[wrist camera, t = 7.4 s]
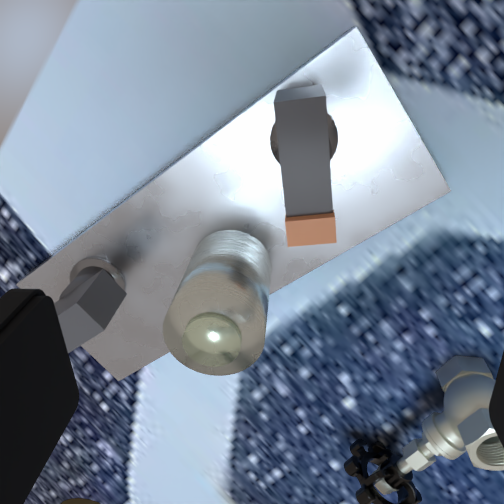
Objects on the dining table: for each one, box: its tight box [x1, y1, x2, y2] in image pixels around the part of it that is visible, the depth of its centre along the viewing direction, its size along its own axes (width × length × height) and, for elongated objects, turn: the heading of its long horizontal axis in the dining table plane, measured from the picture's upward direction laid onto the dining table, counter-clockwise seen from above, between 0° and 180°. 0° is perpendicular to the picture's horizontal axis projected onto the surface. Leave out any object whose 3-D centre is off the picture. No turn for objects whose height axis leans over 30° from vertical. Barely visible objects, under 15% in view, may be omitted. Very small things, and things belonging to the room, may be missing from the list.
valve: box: [344, 356, 504, 504], centre depth 31 cm, size 7×7×12 cm
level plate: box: [16, 27, 451, 381], centre depth 25 cm, size 26×10×9 cm, turn 126°
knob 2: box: [273, 84, 337, 247], centre depth 21 cm, size 6×3×6 cm, turn 8°
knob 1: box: [54, 266, 127, 353], centre depth 26 cm, size 6×3×6 cm, turn 126°
